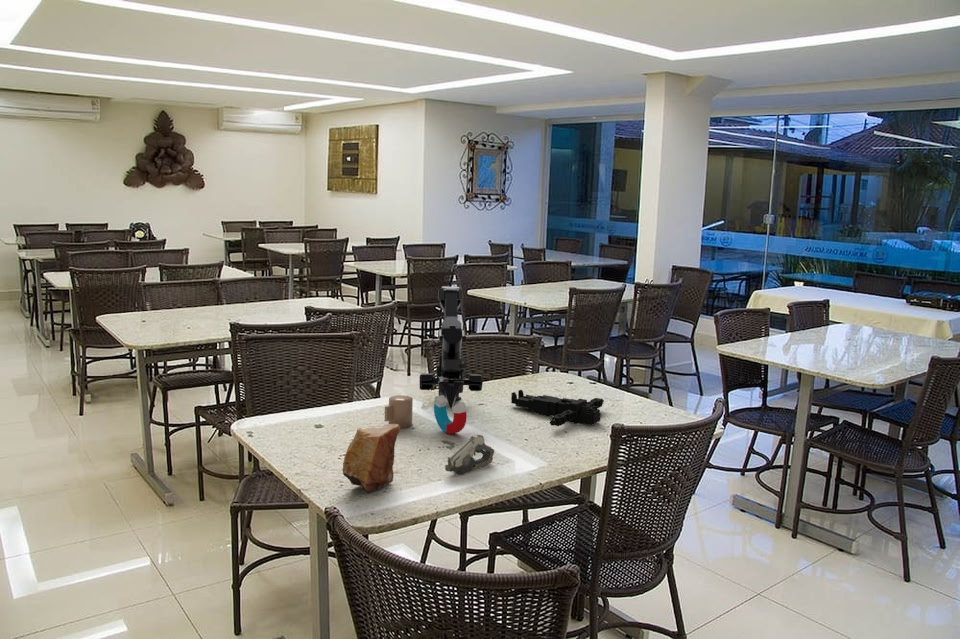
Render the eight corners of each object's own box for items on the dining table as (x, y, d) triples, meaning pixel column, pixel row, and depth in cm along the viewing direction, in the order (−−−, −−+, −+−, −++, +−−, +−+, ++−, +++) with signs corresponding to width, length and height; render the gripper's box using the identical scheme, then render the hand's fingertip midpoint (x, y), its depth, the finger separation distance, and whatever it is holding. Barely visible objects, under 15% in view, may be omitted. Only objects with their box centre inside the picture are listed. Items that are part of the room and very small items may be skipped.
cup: (377, 425, 216) (378, 399, 215) (401, 419, 223) (401, 393, 221) (393, 431, 212) (393, 405, 210) (416, 424, 218) (417, 399, 217)
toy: (541, 380, 253) (620, 394, 235) (541, 398, 254) (619, 413, 236) (488, 399, 228) (571, 416, 210) (488, 419, 229) (571, 437, 211)
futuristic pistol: (452, 491, 184) (440, 462, 180) (490, 454, 192) (479, 425, 188) (459, 494, 183) (447, 465, 178) (497, 457, 191) (486, 427, 186)
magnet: (433, 428, 216) (433, 395, 214) (440, 425, 217) (440, 393, 215) (459, 439, 207) (459, 405, 205) (466, 436, 209) (466, 403, 207)
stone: (387, 474, 181) (387, 416, 178) (407, 486, 174) (408, 426, 171) (335, 488, 172) (335, 427, 169) (354, 501, 165) (355, 438, 162)
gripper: (420, 346, 215) (418, 393, 206) (483, 348, 216) (484, 394, 208) (420, 366, 224) (418, 411, 216) (481, 367, 226) (481, 412, 217)
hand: (450, 407), depth 214 cm, fingers closed
